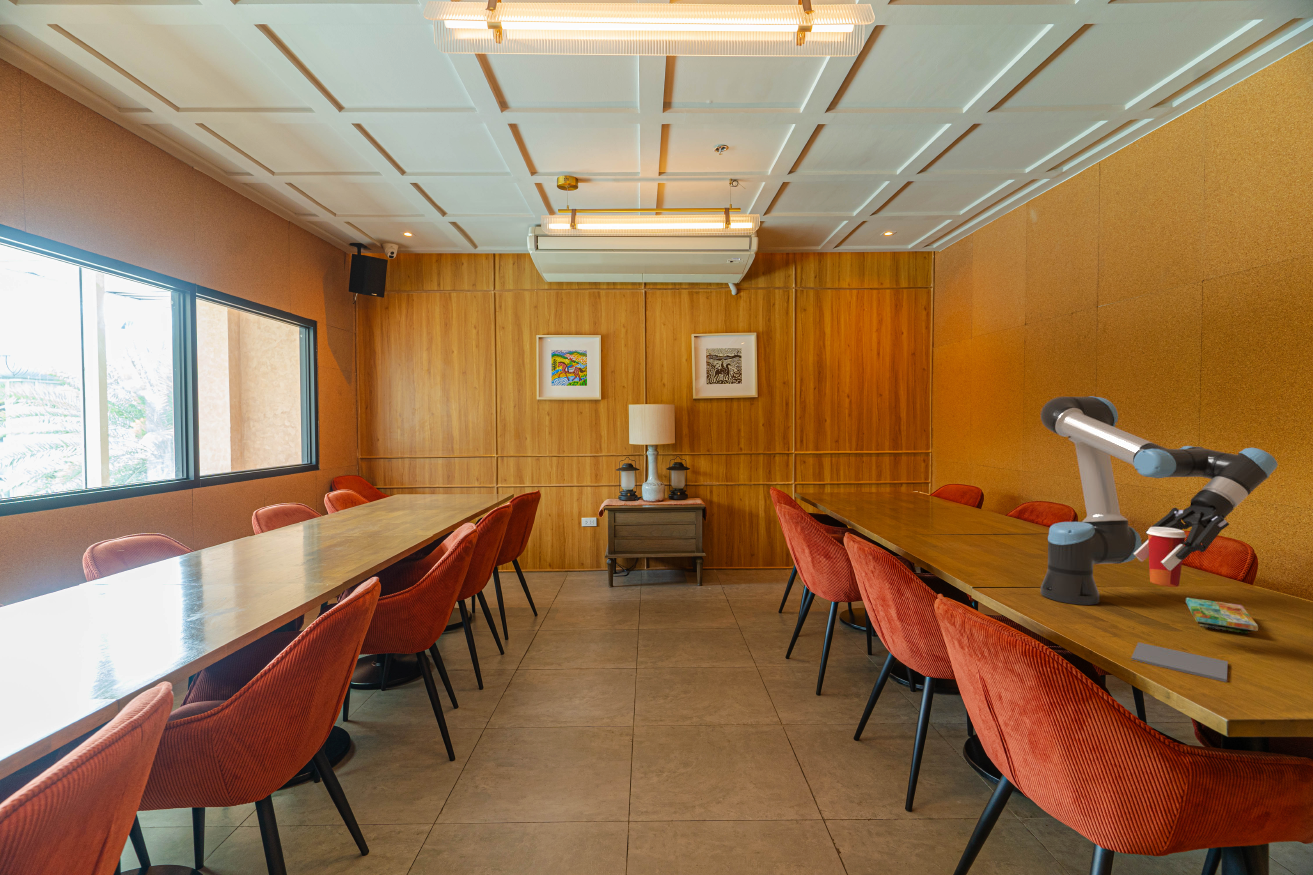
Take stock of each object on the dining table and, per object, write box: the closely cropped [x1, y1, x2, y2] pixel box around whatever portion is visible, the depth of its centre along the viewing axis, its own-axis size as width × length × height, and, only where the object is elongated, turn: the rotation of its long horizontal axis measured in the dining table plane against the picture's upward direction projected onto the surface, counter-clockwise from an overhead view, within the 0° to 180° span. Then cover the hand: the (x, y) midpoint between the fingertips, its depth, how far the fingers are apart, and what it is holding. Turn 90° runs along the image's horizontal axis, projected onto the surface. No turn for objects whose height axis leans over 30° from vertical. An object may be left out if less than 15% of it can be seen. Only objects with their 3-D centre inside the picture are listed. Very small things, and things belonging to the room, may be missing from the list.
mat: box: [1130, 642, 1228, 683], centre depth 135 cm, size 16×13×1 cm
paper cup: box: [1145, 526, 1188, 588], centre depth 148 cm, size 8×8×14 cm
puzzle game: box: [1185, 597, 1259, 635], centre depth 161 cm, size 12×5×20 cm
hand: (1151, 561), depth 148 cm, fingers closed on paper cup, 8 cm apart
